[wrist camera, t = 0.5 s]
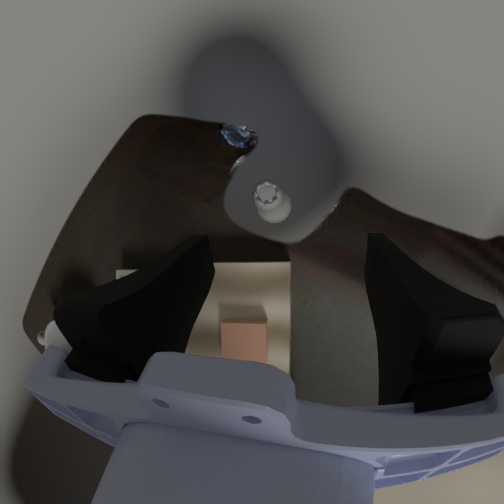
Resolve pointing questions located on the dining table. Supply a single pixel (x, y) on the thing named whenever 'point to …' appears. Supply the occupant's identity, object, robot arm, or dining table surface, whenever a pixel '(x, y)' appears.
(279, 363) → the beige banded block
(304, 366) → the dining table surface
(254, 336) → the tile
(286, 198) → the rook chess piece
